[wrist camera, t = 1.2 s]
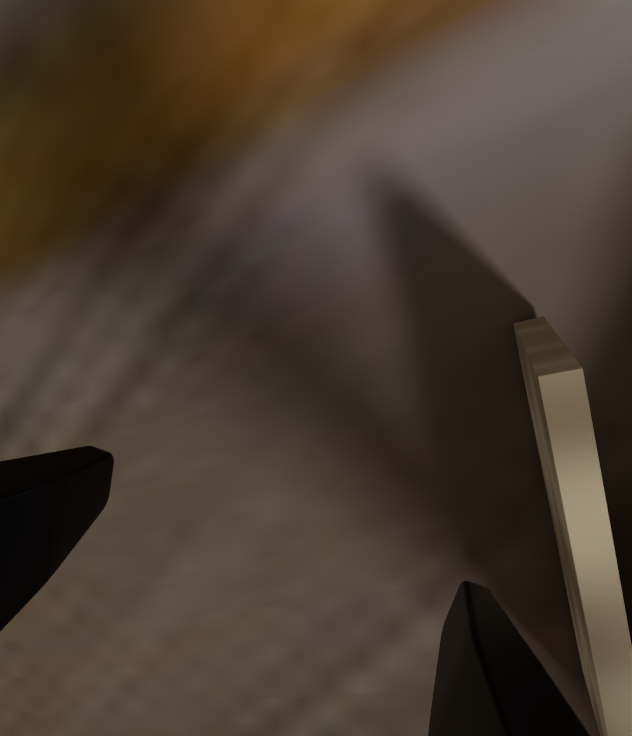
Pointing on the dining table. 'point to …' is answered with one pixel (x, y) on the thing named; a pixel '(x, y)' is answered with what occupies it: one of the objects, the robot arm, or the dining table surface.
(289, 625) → the dining table surface
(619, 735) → the beige plank
